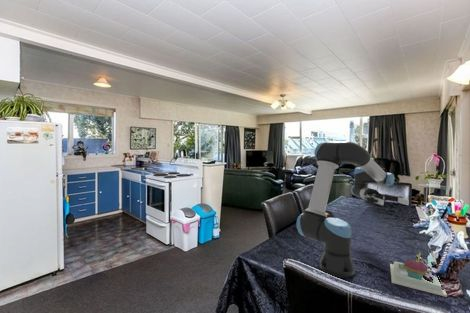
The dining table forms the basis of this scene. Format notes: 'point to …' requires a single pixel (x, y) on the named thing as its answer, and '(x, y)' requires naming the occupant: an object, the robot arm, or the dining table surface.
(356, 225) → the dining table surface
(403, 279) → the pastry tray
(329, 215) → the casserole
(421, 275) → the cupcake
